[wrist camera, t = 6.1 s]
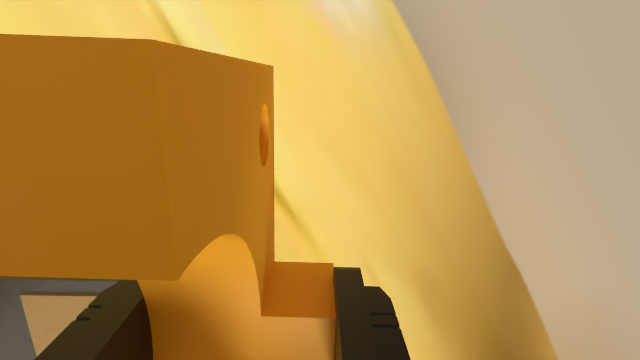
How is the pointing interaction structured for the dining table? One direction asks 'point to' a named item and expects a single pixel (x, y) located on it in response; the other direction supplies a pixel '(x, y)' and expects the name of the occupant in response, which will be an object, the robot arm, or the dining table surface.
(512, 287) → the dining table surface
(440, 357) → the dining table surface
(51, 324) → the steel riser
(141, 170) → the pipe clamp
